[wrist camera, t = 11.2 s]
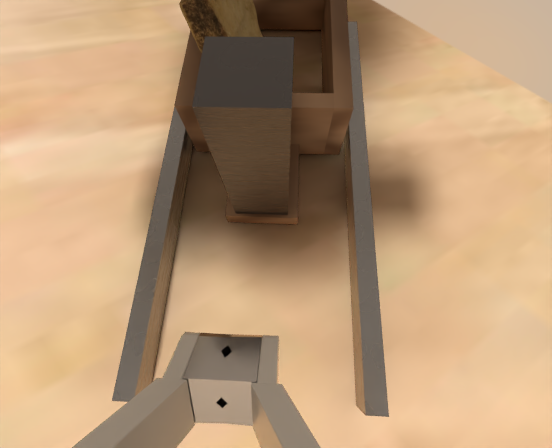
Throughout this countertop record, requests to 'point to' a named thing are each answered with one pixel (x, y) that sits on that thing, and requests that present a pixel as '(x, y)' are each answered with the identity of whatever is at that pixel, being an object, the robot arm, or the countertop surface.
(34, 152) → the countertop surface
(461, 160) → the countertop surface
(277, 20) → the sled
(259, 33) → the rock
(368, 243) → the rails
